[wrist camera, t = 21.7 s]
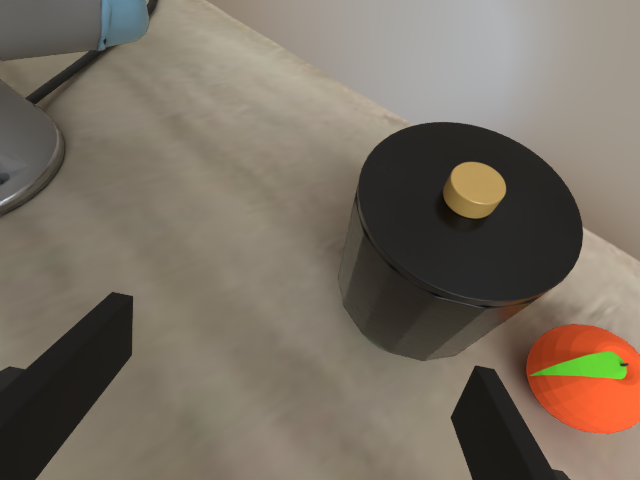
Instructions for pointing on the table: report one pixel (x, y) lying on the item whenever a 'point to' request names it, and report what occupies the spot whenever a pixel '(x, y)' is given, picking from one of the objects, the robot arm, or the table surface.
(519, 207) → the black lidded canister
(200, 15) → the table surface
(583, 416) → the clementine
